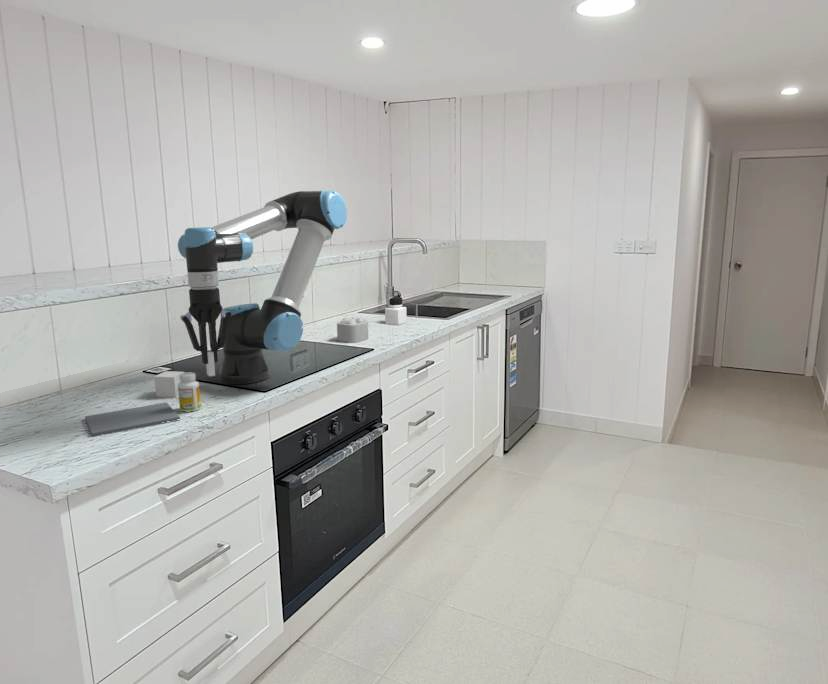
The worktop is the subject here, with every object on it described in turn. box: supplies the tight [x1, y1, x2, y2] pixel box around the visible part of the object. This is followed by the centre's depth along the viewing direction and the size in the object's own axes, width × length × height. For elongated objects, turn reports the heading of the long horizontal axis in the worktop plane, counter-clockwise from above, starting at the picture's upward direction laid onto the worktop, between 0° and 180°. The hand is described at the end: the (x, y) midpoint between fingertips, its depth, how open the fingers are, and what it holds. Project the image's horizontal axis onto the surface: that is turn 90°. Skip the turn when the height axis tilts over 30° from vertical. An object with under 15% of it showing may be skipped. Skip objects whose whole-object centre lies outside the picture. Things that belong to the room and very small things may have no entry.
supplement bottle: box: [178, 371, 202, 413], centre depth 168 cm, size 5×5×10 cm
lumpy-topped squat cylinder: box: [336, 316, 369, 344], centre depth 252 cm, size 10×13×9 cm
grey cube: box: [153, 370, 185, 398], centre depth 182 cm, size 6×6×6 cm
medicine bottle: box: [384, 296, 408, 326], centre depth 284 cm, size 7×7×12 cm
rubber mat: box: [84, 401, 181, 437], centre depth 161 cm, size 20×15×1 cm
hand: (211, 374), depth 170 cm, fingers closed
